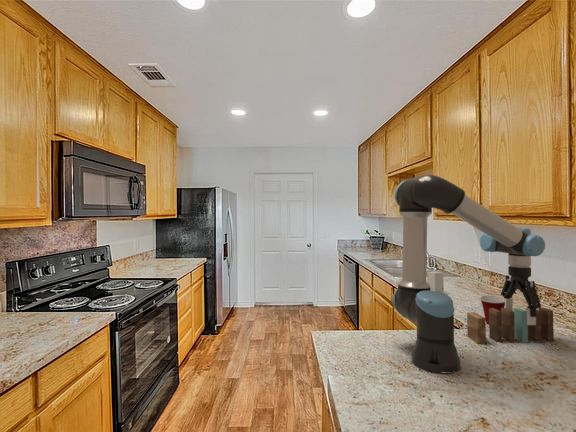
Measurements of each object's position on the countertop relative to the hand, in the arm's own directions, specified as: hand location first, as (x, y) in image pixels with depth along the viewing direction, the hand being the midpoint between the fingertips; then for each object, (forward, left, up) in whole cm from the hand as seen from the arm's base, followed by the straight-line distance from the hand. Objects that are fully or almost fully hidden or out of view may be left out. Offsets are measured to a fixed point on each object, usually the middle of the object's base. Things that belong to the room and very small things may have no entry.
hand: (519, 319), depth 134 cm
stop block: (-16, +6, -8) cm, 19 cm away
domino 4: (+5, -2, -8) cm, 10 cm away
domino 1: (-9, +3, -8) cm, 13 cm away
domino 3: (0, 0, -8) cm, 8 cm away
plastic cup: (+7, +18, -8) cm, 21 cm away
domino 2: (-4, +2, -8) cm, 9 cm away
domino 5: (+10, -4, -8) cm, 13 cm away
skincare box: (+22, +70, -8) cm, 74 cm away
